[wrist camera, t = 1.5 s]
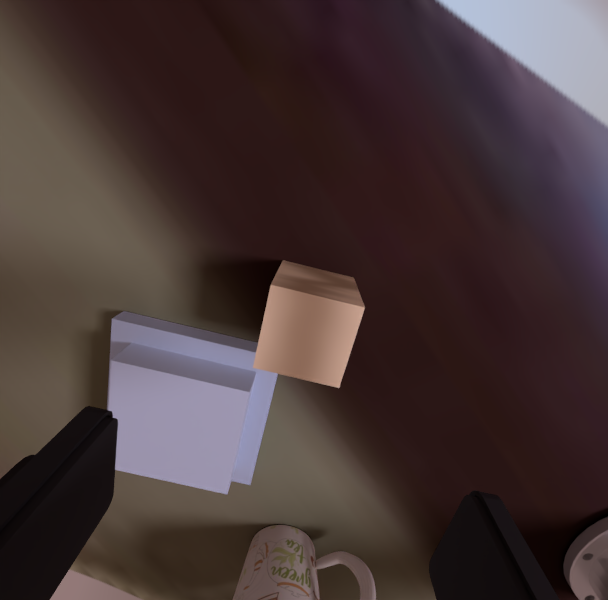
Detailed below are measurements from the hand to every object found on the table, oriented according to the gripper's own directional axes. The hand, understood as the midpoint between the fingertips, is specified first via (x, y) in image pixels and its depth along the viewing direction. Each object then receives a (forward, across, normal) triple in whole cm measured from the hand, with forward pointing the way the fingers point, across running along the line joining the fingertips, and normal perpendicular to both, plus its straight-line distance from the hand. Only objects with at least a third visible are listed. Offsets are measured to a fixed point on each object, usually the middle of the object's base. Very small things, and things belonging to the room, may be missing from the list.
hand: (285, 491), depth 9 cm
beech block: (+16, 0, 0) cm, 16 cm away
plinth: (+16, +7, +10) cm, 20 cm away
